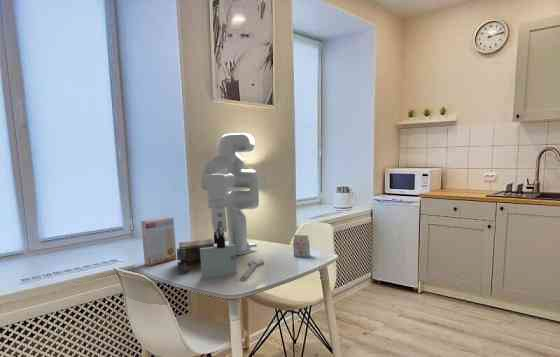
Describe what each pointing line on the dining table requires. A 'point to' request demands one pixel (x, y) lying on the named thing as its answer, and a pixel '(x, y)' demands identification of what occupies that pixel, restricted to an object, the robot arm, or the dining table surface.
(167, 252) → the cracker box
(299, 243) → the small printed carton
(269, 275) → the dining table surface
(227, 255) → the grey flat block
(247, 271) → the adjustable wrench
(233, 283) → the dining table surface
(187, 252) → the cabinet
